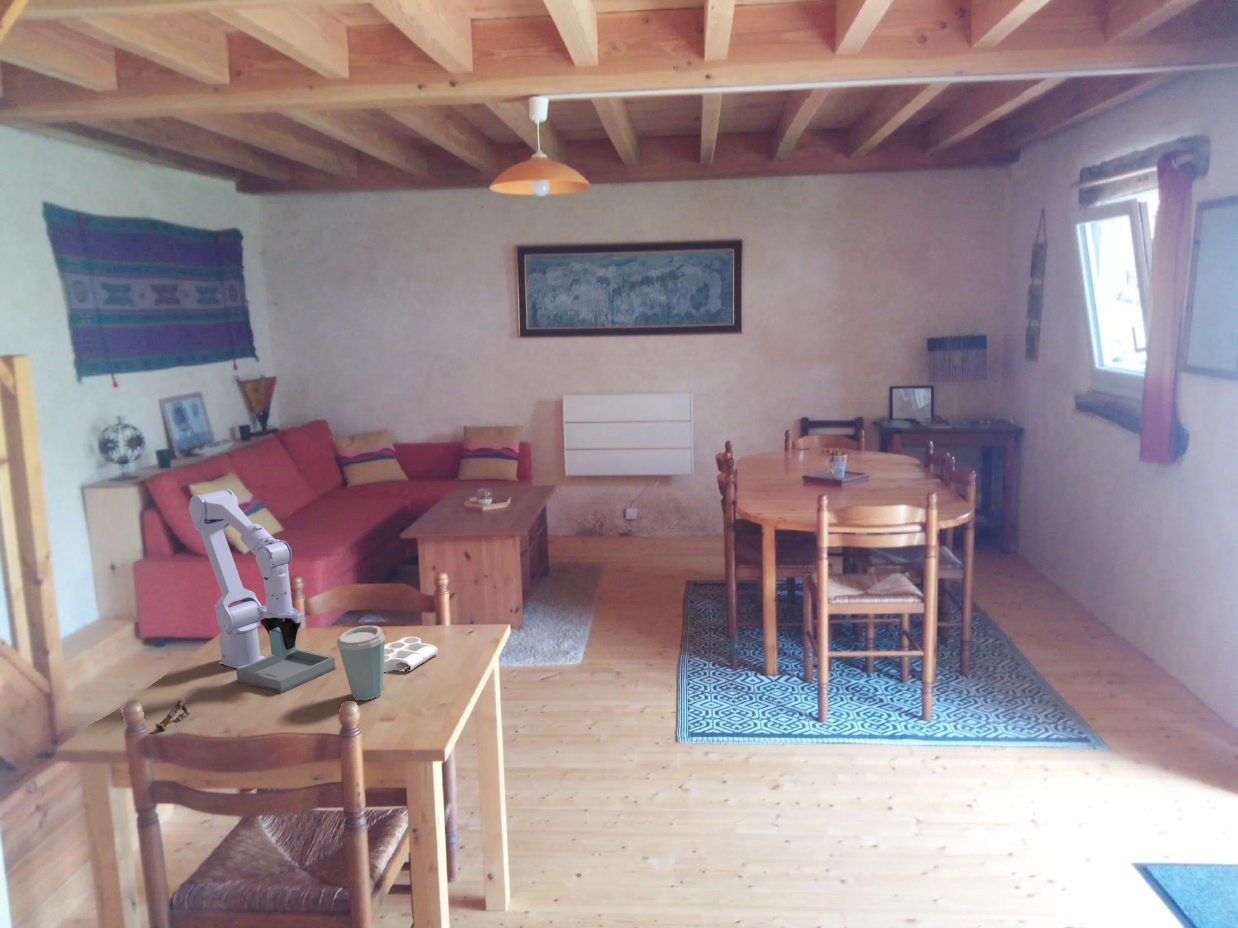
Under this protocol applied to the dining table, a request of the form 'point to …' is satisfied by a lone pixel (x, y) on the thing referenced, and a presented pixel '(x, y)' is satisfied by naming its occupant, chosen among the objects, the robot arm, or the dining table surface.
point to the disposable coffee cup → (363, 660)
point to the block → (279, 643)
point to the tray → (285, 670)
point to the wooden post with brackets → (173, 713)
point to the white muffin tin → (407, 653)
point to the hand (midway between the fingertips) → (284, 646)
